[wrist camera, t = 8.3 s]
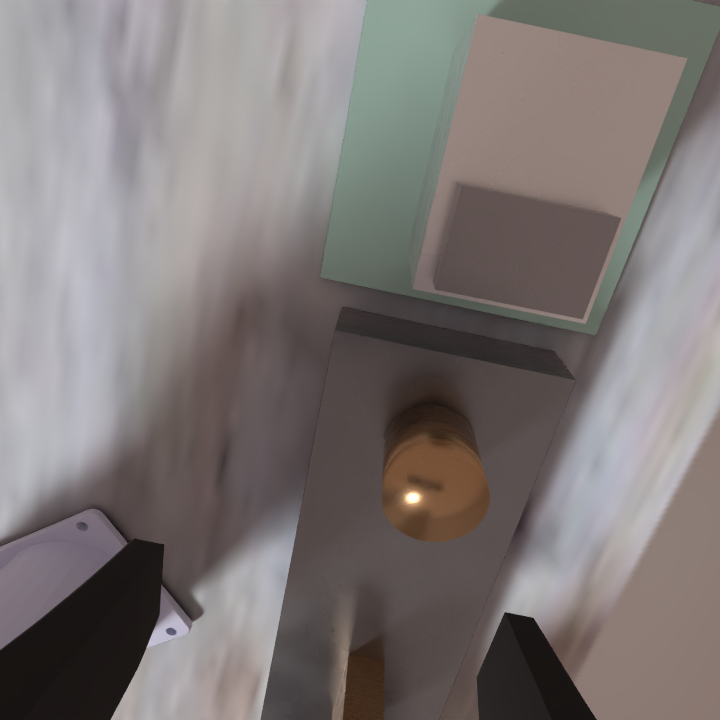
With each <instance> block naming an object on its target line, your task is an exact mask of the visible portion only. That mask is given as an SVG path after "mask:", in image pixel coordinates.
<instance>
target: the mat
mask: <svg viewBox="0 0 720 720" xmlns="http://www.w3.org/2000/svg"><path fill="white" fill-rule="evenodd" d="M477 14H481V15H486V16H490V17H495V18H500V19H504V20H509V21H514V22H519V23H523V24H528V25H533V26H537V27H542V28H547V29H551V30H556V31H561V32H566V33H570V34H575V35H580V36H584V37H589V38H594V39H599V40H603V41H608V42H613V43H617V44H622V45H627V46H632V47H636V48H641V49H646V50H650V51H655V52H660V53H665V54H669V55H674V56H679V57H683V58H688V59H687V61H686V64H685V66H684V69H683V72H682V74H681V77H680V79H679V82H678V85H677V87H676V90H675V93H674V95H673V98H672V100H671V103H670V106H669V108H668V111H667V113H666V116H665V119H664V121H663V124H662V126H661V129H660V132H659V134H658V137H657V139H656V142H655V145H654V147H653V150H652V152H651V155H650V158H649V160H648V163H647V165H646V168H645V171H644V173H643V176H642V178H641V181H640V184H639V186H638V189H637V191H636V194H635V197H634V199H633V202H632V205H631V207H630V210H629V212H628V215H627V218H626V220H625V223H624V225H623V228H622V231H621V233H620V236H619V238H618V241H617V244H616V246H615V249H614V251H613V254H612V257H611V259H610V262H609V264H608V267H607V270H606V272H605V275H604V277H603V280H602V283H601V285H600V288H599V290H598V293H597V296H596V298H595V301H594V303H593V306H592V309H591V311H590V314H589V317H588V319H587V322H586V324H583V323H578V322H573V321H569V320H564V319H559V318H554V317H549V316H544V315H539V314H534V313H529V312H524V311H519V310H514V309H509V308H504V307H499V306H494V305H489V304H485V303H480V302H475V301H470V300H465V299H460V298H455V297H450V296H445V295H440V294H435V293H430V292H425V291H420V290H415V289H412V280H411V271H410V263H409V254H408V248H409V244H410V239H411V235H412V230H413V226H414V222H415V217H416V213H417V208H418V204H419V199H420V195H421V191H422V186H423V182H424V177H425V173H426V169H427V164H428V160H429V155H430V151H431V147H432V142H433V138H434V133H435V129H436V124H437V120H438V116H439V111H440V107H441V102H442V98H443V94H444V89H445V85H446V80H447V76H448V72H449V67H450V63H451V58H452V54H453V50H454V49H455V47H456V46H457V44H458V43H459V41H460V40H461V38H462V37H463V35H464V34H465V32H466V31H467V29H468V28H469V26H470V25H471V23H472V22H473V20H474V19H475V17H476V16H477ZM719 31H720V6H716V5H712V4H707V3H703V2H698V1H694V0H367V5H366V10H365V16H364V22H363V28H362V34H361V40H360V45H359V51H358V57H357V63H356V69H355V75H354V80H353V86H352V92H351V98H350V104H349V110H348V115H347V121H346V127H345V133H344V139H343V145H342V151H341V156H340V162H339V168H338V174H337V180H336V186H335V191H334V197H333V203H332V209H331V215H330V221H329V226H328V232H327V238H326V244H325V250H324V256H323V262H322V267H321V273H320V278H324V279H329V280H334V281H339V282H343V283H348V284H353V285H358V286H362V287H367V288H372V289H377V290H381V291H386V292H391V293H396V294H400V295H405V296H410V297H415V298H419V299H424V300H429V301H434V302H438V303H443V304H448V305H453V306H457V307H462V308H467V309H472V310H476V311H481V312H486V313H491V314H496V315H500V316H505V317H510V318H515V319H519V320H524V321H529V322H534V323H538V324H543V325H548V326H553V327H557V328H562V329H567V330H572V331H576V332H581V333H586V334H591V335H595V336H596V334H597V332H598V329H599V327H600V325H601V322H602V320H603V317H604V315H605V312H606V310H607V307H608V305H609V302H610V300H611V297H612V295H613V292H614V290H615V288H616V285H617V283H618V280H619V278H620V275H621V273H622V270H623V268H624V265H625V263H626V260H627V258H628V255H629V253H630V251H631V248H632V246H633V243H634V241H635V238H636V236H637V233H638V231H639V228H640V226H641V223H642V221H643V218H644V216H645V214H646V211H647V209H648V206H649V204H650V201H651V199H652V196H653V194H654V191H655V189H656V186H657V184H658V181H659V179H660V177H661V174H662V172H663V169H664V167H665V164H666V162H667V159H668V157H669V154H670V152H671V149H672V147H673V144H674V142H675V139H676V137H677V135H678V132H679V130H680V127H681V125H682V122H683V120H684V117H685V115H686V112H687V110H688V107H689V105H690V102H691V100H692V98H693V95H694V93H695V90H696V88H697V85H698V83H699V80H700V78H701V75H702V73H703V70H704V68H705V65H706V63H707V61H708V58H709V56H710V53H711V51H712V48H713V46H714V43H715V41H716V38H717V36H718V33H719Z"/></svg>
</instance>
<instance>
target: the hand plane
mask: <svg viewBox="0 0 720 720" xmlns="http://www.w3.org/2000/svg"><path fill="white" fill-rule="evenodd" d="M575 381H576V380H575V378H574V377H573V376H572V374H571V373H570V372H569V370H568V369H567V368H566V366H565V365H564V364H563V362H562V361H561V360H560V358H559V357H558V356H557V354H556V353H555V352H554V351H550V350H545V349H540V348H535V347H530V346H526V345H521V344H516V343H511V342H507V341H502V340H497V339H492V338H487V337H483V336H478V335H473V334H468V333H464V332H459V331H454V330H449V329H444V328H440V327H435V326H430V325H425V324H421V323H416V322H411V321H406V320H401V319H397V318H392V317H387V316H382V315H378V314H373V313H368V312H363V311H358V310H354V309H349V308H344V307H342V309H341V313H340V316H339V319H338V322H337V325H336V329H335V333H334V338H333V343H332V349H331V354H330V359H329V364H328V370H327V375H326V380H325V385H324V390H323V396H322V401H321V406H320V411H319V417H318V422H317V427H316V432H315V438H314V443H313V448H312V453H311V459H310V464H309V469H308V474H307V479H306V485H305V490H304V495H303V500H302V506H301V511H300V516H299V521H298V527H297V532H296V537H295V542H294V548H293V553H292V558H291V563H290V569H289V574H288V579H287V584H286V589H285V595H284V600H283V605H282V610H281V616H280V621H279V626H278V631H277V637H276V642H275V647H274V652H273V658H272V663H271V668H270V673H269V678H268V684H267V689H266V694H265V699H264V705H263V710H262V715H261V720H439V718H440V716H441V713H442V711H443V708H444V706H445V703H446V701H447V698H448V696H449V693H450V691H451V689H452V686H453V684H454V681H455V679H456V676H457V674H458V671H459V669H460V666H461V664H462V661H463V659H464V656H465V654H466V651H467V649H468V646H469V644H470V641H471V639H472V636H473V634H474V632H475V629H476V627H477V624H478V622H479V619H480V617H481V614H482V612H483V609H484V607H485V604H486V602H487V599H488V597H489V594H490V592H491V589H492V587H493V584H494V582H495V579H496V577H497V575H498V572H499V570H500V567H501V565H502V562H503V560H504V557H505V555H506V552H507V550H508V547H509V545H510V542H511V540H512V537H513V535H514V532H515V530H516V527H517V525H518V522H519V520H520V518H521V515H522V513H523V510H524V508H525V505H526V503H527V500H528V498H529V495H530V493H531V490H532V488H533V485H534V483H535V480H536V478H537V475H538V473H539V470H540V468H541V465H542V463H543V461H544V458H545V456H546V453H547V451H548V448H549V446H550V443H551V441H552V438H553V436H554V433H555V431H556V428H557V426H558V423H559V421H560V418H561V416H562V413H563V411H564V408H565V406H566V404H567V401H568V399H569V396H570V394H571V391H572V389H573V386H574V384H575Z"/></svg>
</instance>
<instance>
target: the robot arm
mask: <svg viewBox="0 0 720 720" xmlns="http://www.w3.org/2000/svg"><path fill="white" fill-rule="evenodd" d="M82 522H84V523H85V524H87V525H85V524H84V523H82ZM163 554H164V544H159V543H154V542H148V541H143V540H138V539H134V540H132V541H130V542H129V543H127V542H126V541H125V539H124V538H123V537H122V536H121V534H120V533H119V532H118V531H117V530H116V528H115V527H114V526H113V525H112V524H111V522H110V521H109V520H108V519H107V517H106V516H105V515H104V514H103V513H102V512H101V511H99V510H97V509H88V510H86V511H83V512H81V513H79V514H76V515H74V516H71V517H69V518H67V519H64V520H62V521H60V522H57V523H55V524H53V525H50V526H48V527H46V528H43V529H41V530H39V531H36V532H34V533H31V534H29V535H27V536H24V537H22V538H20V539H17V540H15V541H13V542H10V543H8V544H6V545H3V546H1V547H0V720H110V719H111V718H112V716H113V714H114V712H115V710H116V708H117V706H118V704H119V703H120V701H121V699H122V697H123V695H124V693H125V691H126V689H127V688H128V686H129V684H130V682H131V680H132V678H133V676H134V674H135V672H136V670H137V669H138V667H139V664H140V662H141V659H142V657H143V655H144V652H145V650H146V648H148V647H151V646H154V645H157V644H160V643H163V642H166V641H169V640H172V639H175V638H178V637H181V636H184V635H186V634H188V633H189V632H190V630H191V627H192V621H191V620H190V618H189V617H188V616H187V615H186V614H185V612H184V611H183V610H182V609H181V607H180V606H179V605H178V604H177V603H176V601H175V600H174V599H173V598H172V596H171V595H170V594H169V593H168V592H167V590H166V589H165V588H164V587H163V586H162V570H163ZM477 688H478V708H479V720H597V719H596V718H595V716H594V715H593V713H592V712H591V710H590V709H589V707H588V706H587V704H586V703H585V701H584V700H583V698H582V696H581V695H580V693H579V691H578V690H577V688H576V687H575V685H574V683H573V682H572V680H571V678H570V677H569V675H568V674H567V672H566V670H565V669H564V667H563V665H562V664H561V662H560V661H559V659H558V657H557V656H556V654H555V652H554V651H553V649H552V647H551V646H550V644H549V642H548V641H547V639H546V638H545V636H544V634H543V633H542V631H541V629H540V628H539V626H538V625H537V623H536V621H535V620H534V618H531V617H526V616H521V615H516V614H511V613H506V612H505V613H504V615H503V618H502V620H501V622H500V625H499V627H498V629H497V632H496V634H495V636H494V639H493V641H492V643H491V646H490V648H489V650H488V653H487V655H486V657H485V660H484V662H483V664H482V667H481V669H480V671H479V674H478V676H477Z"/></svg>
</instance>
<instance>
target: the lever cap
mask: <svg viewBox="0 0 720 720" xmlns="http://www.w3.org/2000/svg"><path fill="white" fill-rule="evenodd" d="M687 59H688V58H683V57H679V56H674V55H669V54H665V53H660V52H655V51H650V50H646V49H641V48H636V47H632V46H627V45H622V44H617V43H613V42H608V41H603V40H599V39H594V38H589V37H584V36H580V35H575V34H570V33H566V32H561V31H556V30H551V29H547V28H542V27H537V26H533V25H528V24H523V23H519V22H514V21H509V20H504V19H500V18H495V17H490V16H486V15H481V14H477V16H476V17H475V19H474V20H473V22H472V23H471V25H470V26H469V28H468V29H467V31H466V32H465V34H464V35H463V37H462V38H461V40H460V41H459V43H458V44H457V46H456V47H455V49H454V50H453V54H452V58H451V63H450V67H449V72H448V76H447V80H446V85H445V89H444V94H443V98H442V102H441V107H440V111H439V116H438V120H437V124H436V129H435V133H434V138H433V142H432V147H431V151H430V155H429V160H428V164H427V169H426V173H425V177H424V182H423V186H422V191H421V195H420V199H419V204H418V208H417V213H416V217H415V222H414V226H413V230H412V235H411V239H410V244H409V248H408V254H409V263H410V271H411V280H412V289H415V290H420V291H425V292H430V293H435V294H440V295H445V296H450V297H455V298H460V299H465V300H470V301H475V302H480V303H485V304H489V305H494V306H499V307H504V308H509V309H514V310H519V311H524V312H529V313H534V314H539V315H544V316H549V317H554V318H559V319H564V320H569V321H573V322H578V323H583V324H586V322H587V319H588V317H589V314H590V311H591V309H592V306H593V303H594V301H595V298H596V296H597V293H598V290H599V288H600V285H601V283H602V280H603V277H604V275H605V272H606V270H607V267H608V264H609V262H610V259H611V257H612V254H613V251H614V249H615V246H616V244H617V241H618V238H619V236H620V233H621V231H622V228H623V225H624V223H625V220H626V218H627V215H628V212H629V210H630V207H631V205H632V202H633V199H634V197H635V194H636V191H637V189H638V186H639V184H640V181H641V178H642V176H643V173H644V171H645V168H646V165H647V163H648V160H649V158H650V155H651V152H652V150H653V147H654V145H655V142H656V139H657V137H658V134H659V132H660V129H661V126H662V124H663V121H664V119H665V116H666V113H667V111H668V108H669V106H670V103H671V100H672V98H673V95H674V93H675V90H676V87H677V85H678V82H679V79H680V77H681V74H682V72H683V69H684V66H685V64H686V61H687Z"/></svg>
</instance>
